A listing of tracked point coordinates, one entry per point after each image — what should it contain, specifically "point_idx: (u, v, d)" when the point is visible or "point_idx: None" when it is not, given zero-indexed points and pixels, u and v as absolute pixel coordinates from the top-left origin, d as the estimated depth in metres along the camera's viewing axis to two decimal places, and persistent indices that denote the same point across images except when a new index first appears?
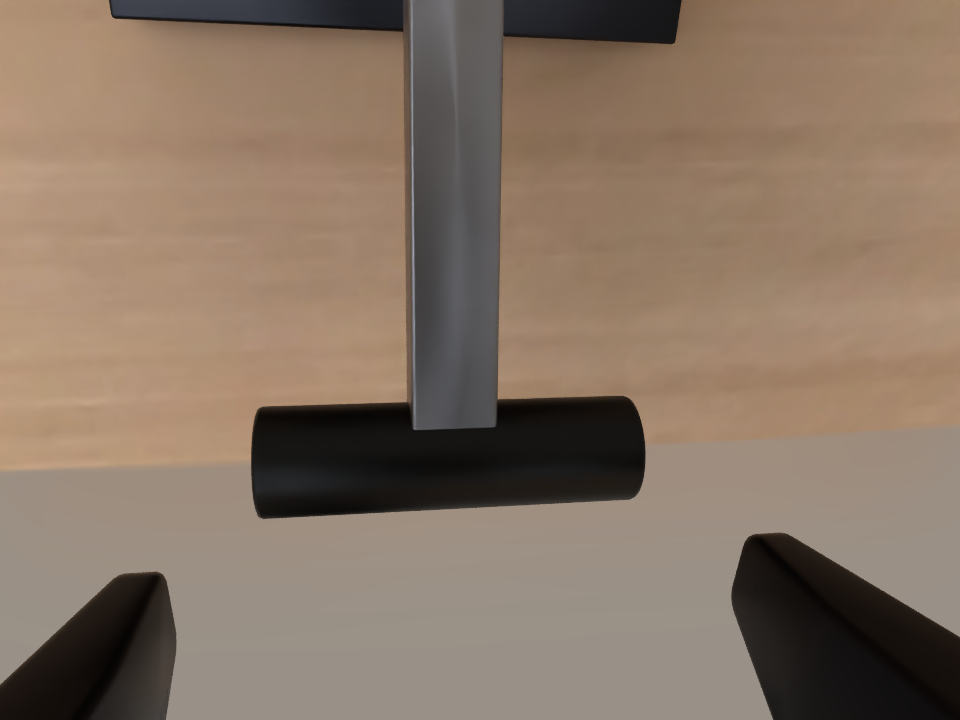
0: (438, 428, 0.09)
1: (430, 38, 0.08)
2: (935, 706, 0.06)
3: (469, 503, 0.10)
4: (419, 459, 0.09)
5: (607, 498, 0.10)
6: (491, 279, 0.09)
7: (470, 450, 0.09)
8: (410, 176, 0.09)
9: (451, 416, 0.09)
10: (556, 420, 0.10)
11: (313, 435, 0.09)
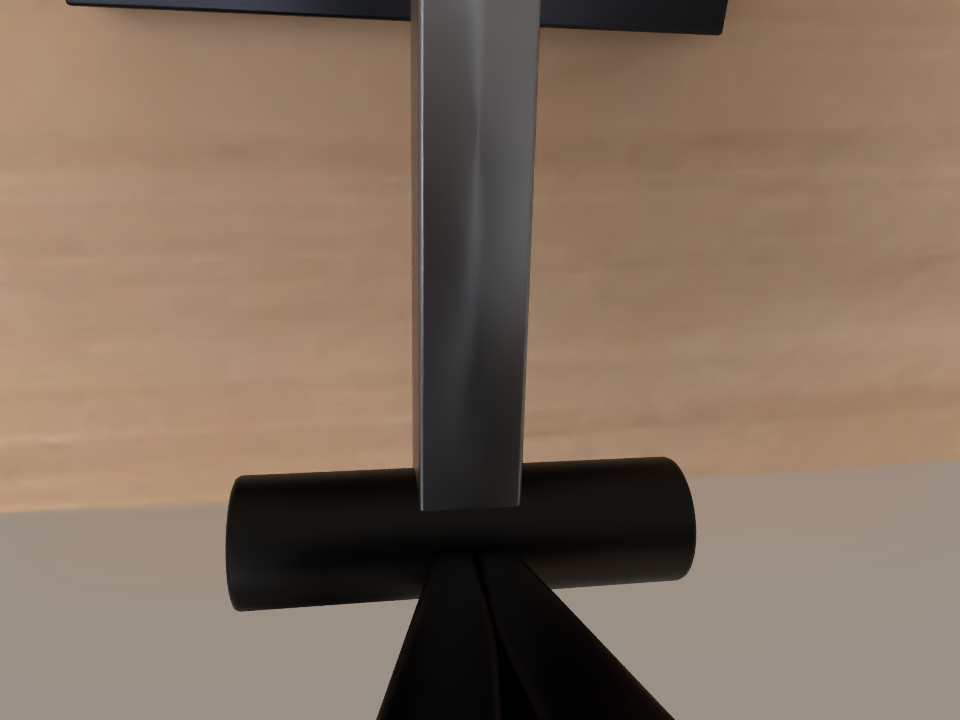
0: (450, 508, 0.08)
1: (446, 35, 0.07)
2: None
3: None
4: (428, 548, 0.08)
5: None
6: (518, 334, 0.07)
7: (489, 536, 0.08)
8: (419, 210, 0.07)
9: (467, 496, 0.08)
10: (592, 496, 0.08)
11: (300, 519, 0.08)
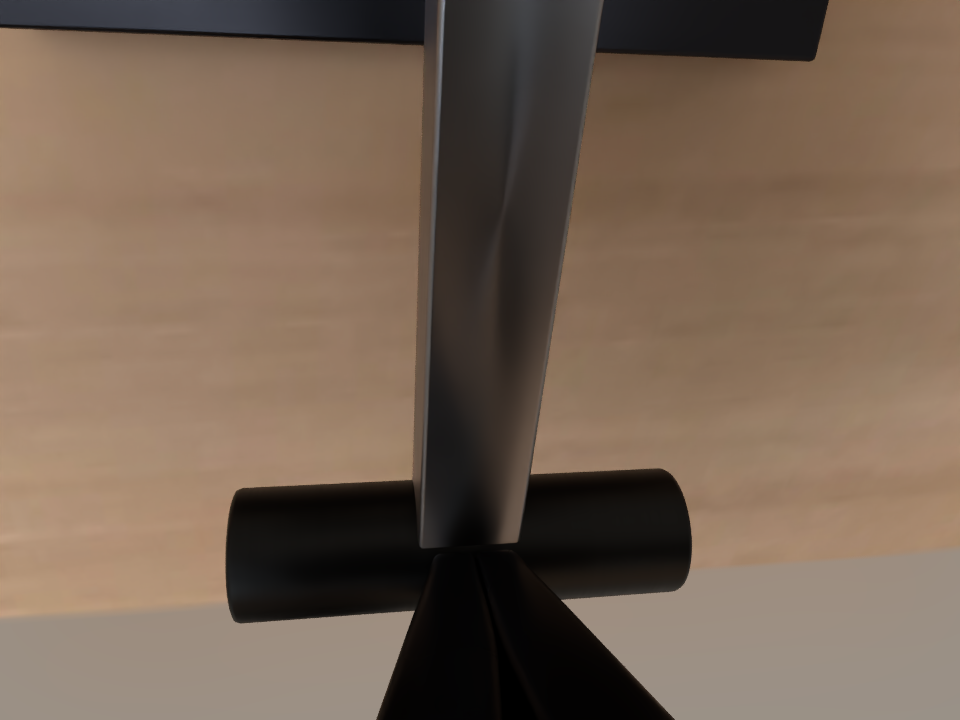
0: (449, 545, 0.08)
1: (470, 103, 0.05)
2: None
3: None
4: None
5: None
6: (530, 404, 0.07)
7: None
8: (428, 291, 0.06)
9: (466, 536, 0.08)
10: (592, 531, 0.08)
11: (299, 556, 0.08)
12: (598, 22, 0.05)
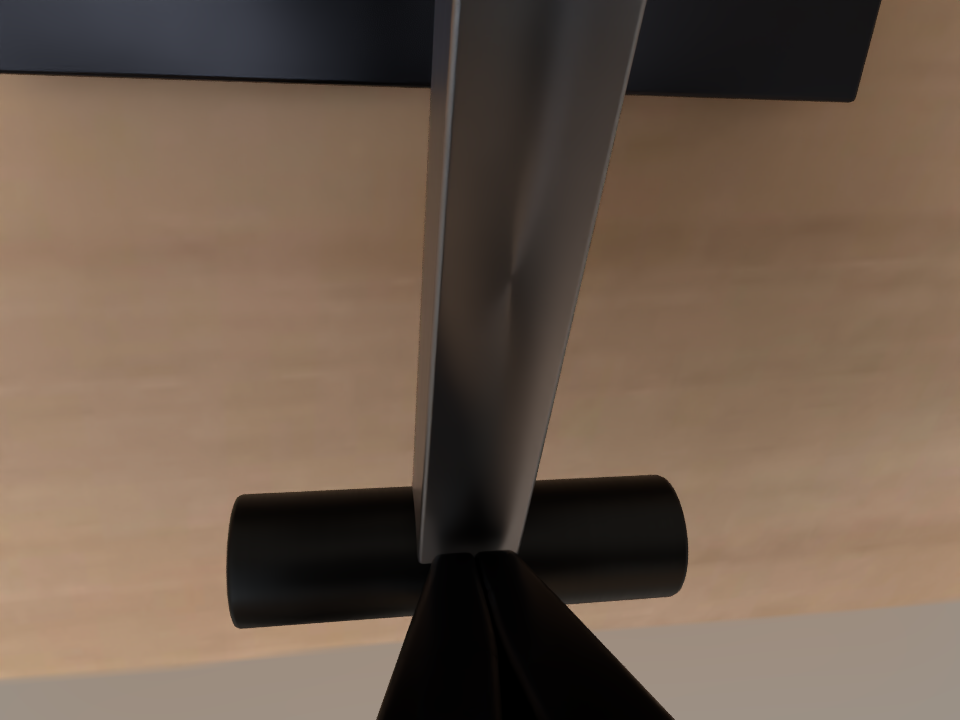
0: None
1: (481, 173, 0.05)
2: None
3: None
4: None
5: None
6: (534, 443, 0.07)
7: None
8: (432, 346, 0.06)
9: None
10: (590, 547, 0.08)
11: (300, 572, 0.08)
12: (623, 89, 0.05)
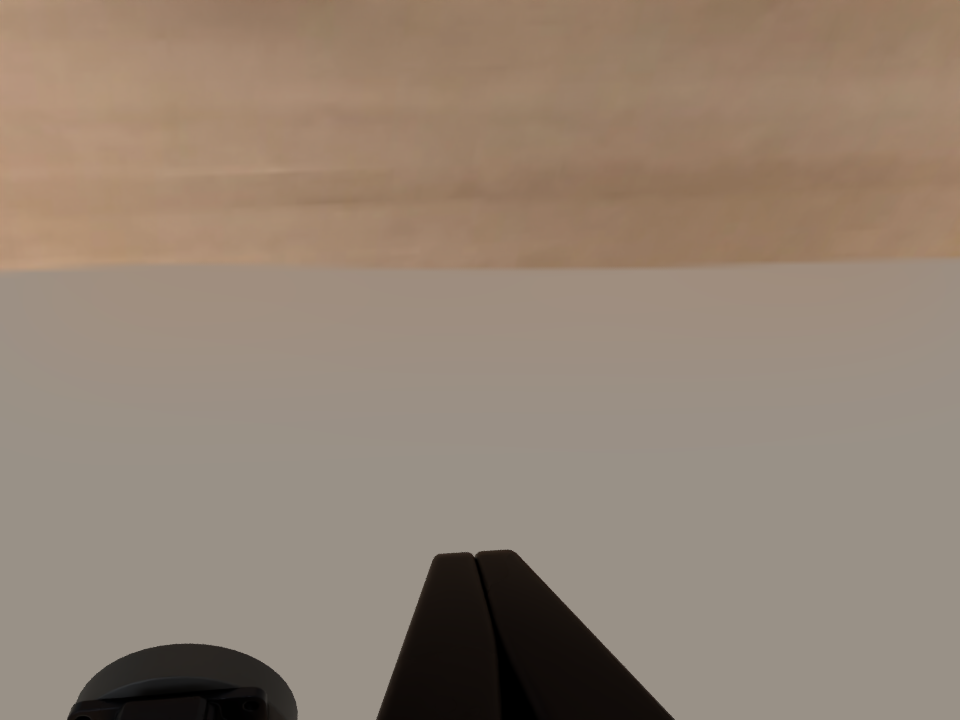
0: None
1: None
2: None
3: None
4: None
5: None
6: None
7: None
8: None
9: None
10: None
11: None
12: None
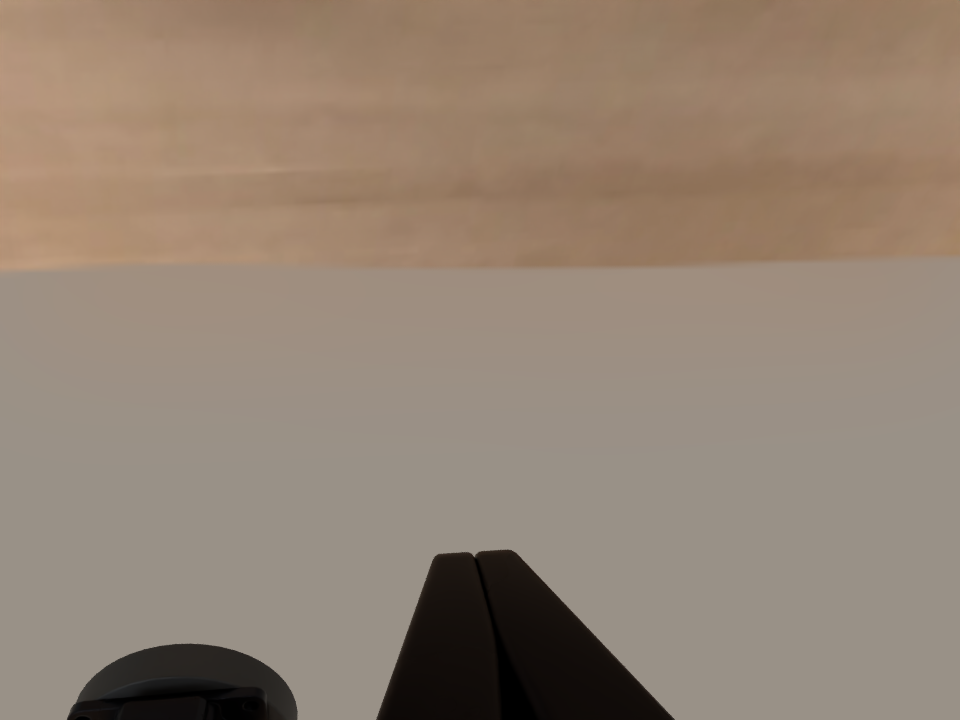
0: None
1: None
2: None
3: None
4: None
5: None
6: None
7: None
8: None
9: None
10: None
11: None
12: None
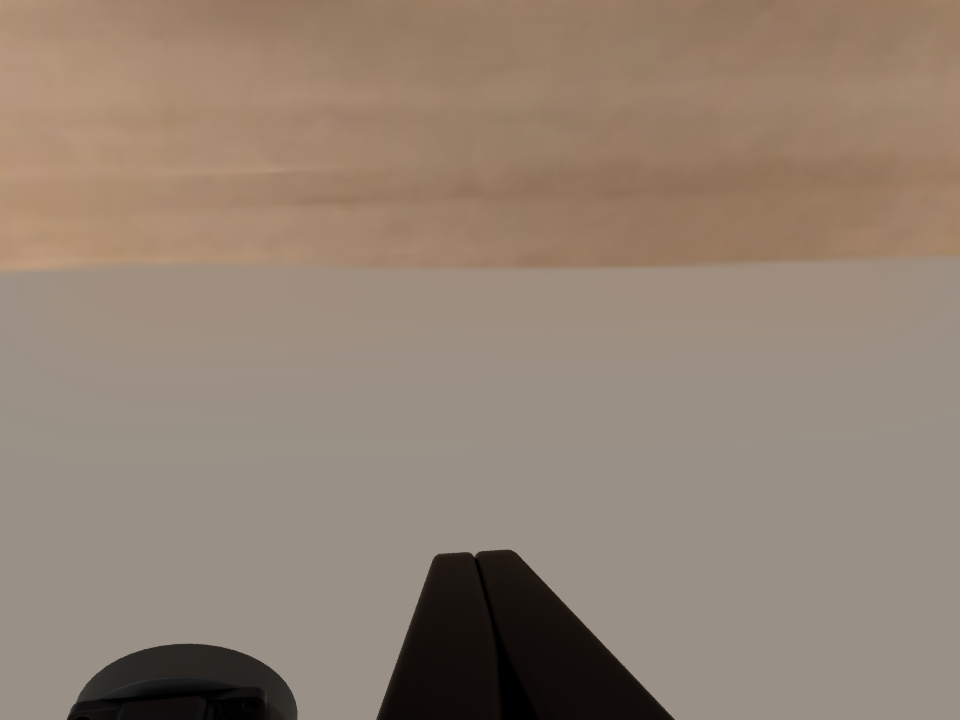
0: None
1: None
2: None
3: None
4: None
5: None
6: None
7: None
8: None
9: None
10: None
11: None
12: None
